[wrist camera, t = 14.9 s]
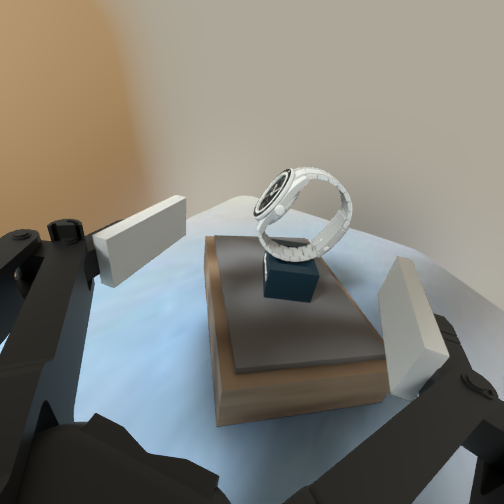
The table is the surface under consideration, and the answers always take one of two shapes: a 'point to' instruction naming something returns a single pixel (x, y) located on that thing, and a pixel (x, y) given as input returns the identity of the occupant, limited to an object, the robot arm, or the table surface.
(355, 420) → the table surface
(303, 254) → the watch
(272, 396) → the riser
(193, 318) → the table surface
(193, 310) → the table surface
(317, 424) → the table surface
